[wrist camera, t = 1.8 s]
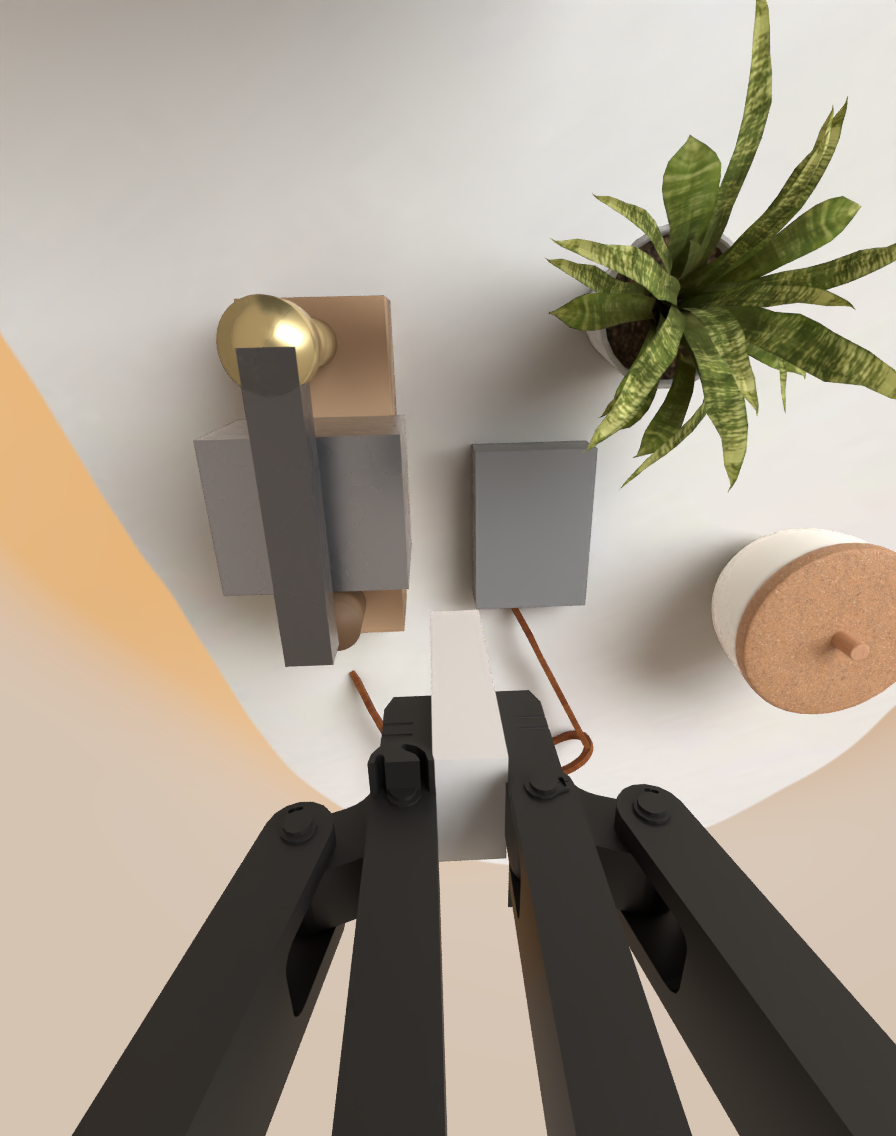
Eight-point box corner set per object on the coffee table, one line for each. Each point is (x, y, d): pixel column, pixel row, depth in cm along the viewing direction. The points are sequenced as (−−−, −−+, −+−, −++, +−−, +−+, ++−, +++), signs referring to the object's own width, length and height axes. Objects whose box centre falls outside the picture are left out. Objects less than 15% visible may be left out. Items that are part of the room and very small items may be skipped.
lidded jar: (683, 658, 41) (753, 746, 32) (686, 519, 37) (767, 576, 28) (831, 637, 41) (941, 719, 32) (851, 495, 37) (983, 545, 28)
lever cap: (238, 419, 28) (193, 440, 23) (405, 414, 29) (400, 434, 23) (259, 549, 31) (223, 595, 26) (411, 543, 31) (408, 589, 26)
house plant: (450, 214, 30) (476, 90, 15) (706, 89, 28) (1034, -196, 13) (539, 461, 35) (627, 558, 20) (759, 368, 33) (1037, 397, 18)
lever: (225, 298, 20) (208, 295, 18) (316, 296, 20) (307, 293, 18) (280, 646, 25) (271, 667, 24) (352, 643, 25) (347, 664, 24)
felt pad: (472, 444, 34) (475, 452, 32) (586, 440, 34) (597, 448, 32) (473, 592, 38) (476, 609, 36) (575, 588, 38) (585, 605, 36)
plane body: (262, 304, 31) (171, 287, 20) (389, 301, 31) (370, 283, 20) (302, 599, 38) (252, 708, 27) (406, 595, 38) (399, 702, 27)
